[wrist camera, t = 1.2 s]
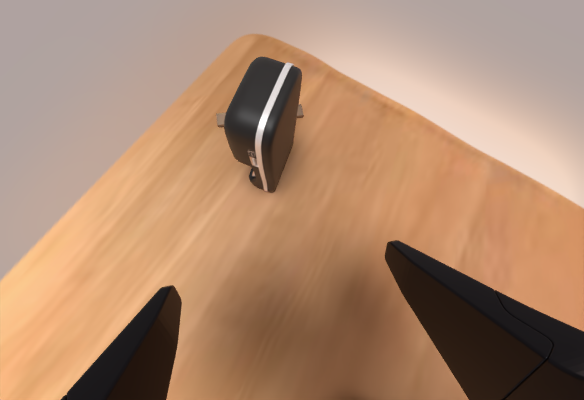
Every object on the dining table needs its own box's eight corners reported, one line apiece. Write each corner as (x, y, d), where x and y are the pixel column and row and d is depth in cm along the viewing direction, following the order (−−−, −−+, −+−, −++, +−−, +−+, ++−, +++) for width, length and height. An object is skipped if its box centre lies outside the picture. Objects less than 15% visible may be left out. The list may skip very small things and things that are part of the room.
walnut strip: (300, 106, 27) (301, 104, 27) (303, 117, 27) (303, 115, 26) (217, 115, 26) (216, 113, 26) (218, 127, 26) (217, 125, 25)
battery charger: (263, 131, 26) (252, 36, 15) (294, 141, 26) (306, 54, 15) (240, 184, 24) (208, 121, 13) (273, 196, 24) (269, 142, 13)
